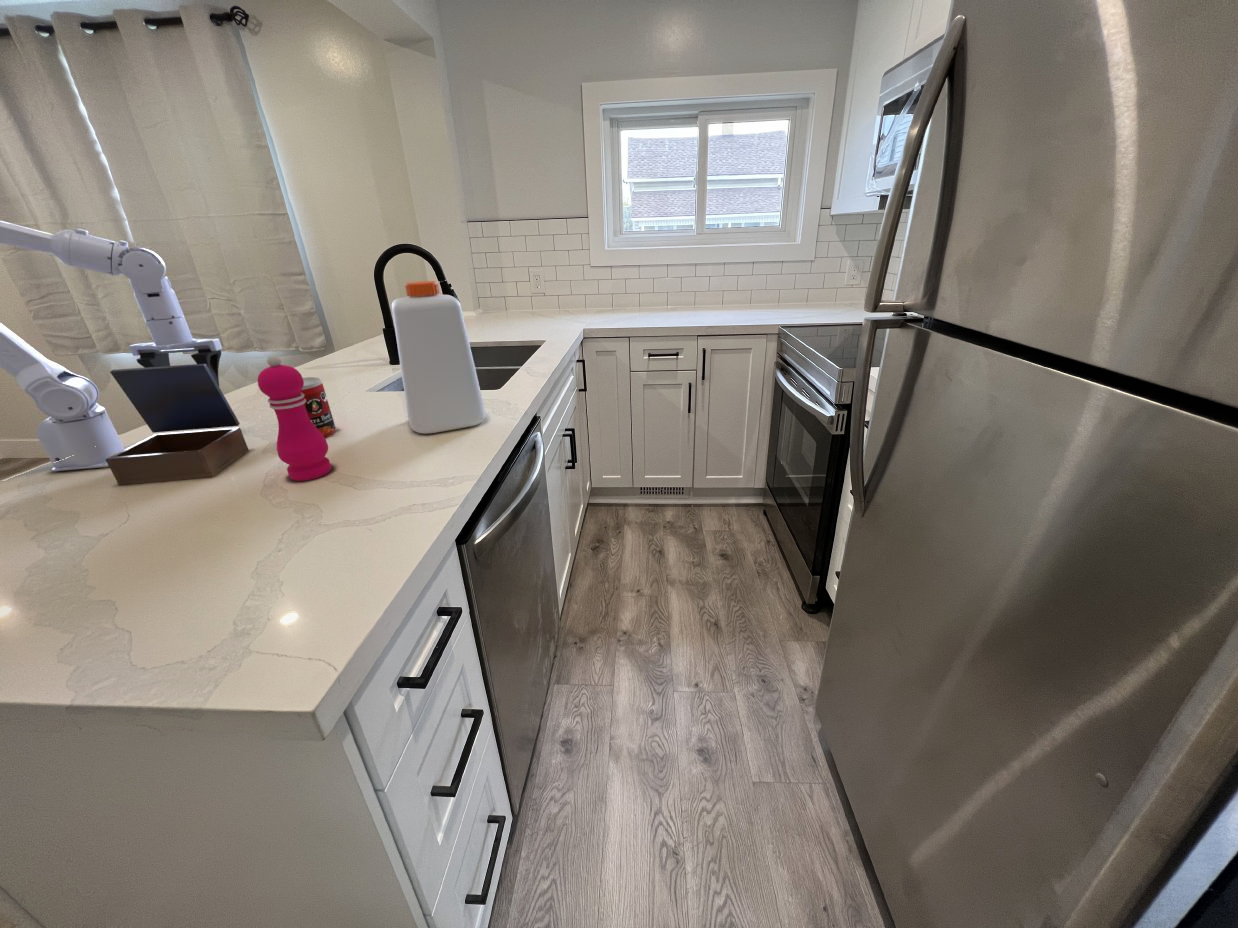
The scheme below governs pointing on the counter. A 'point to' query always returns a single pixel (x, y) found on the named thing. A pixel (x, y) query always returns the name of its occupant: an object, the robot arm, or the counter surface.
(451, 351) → the plastic bottle
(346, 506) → the counter surface
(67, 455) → the robot arm
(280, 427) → the pepper mill
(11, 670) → the counter surface
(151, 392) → the lid
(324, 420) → the canned food
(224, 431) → the chest
